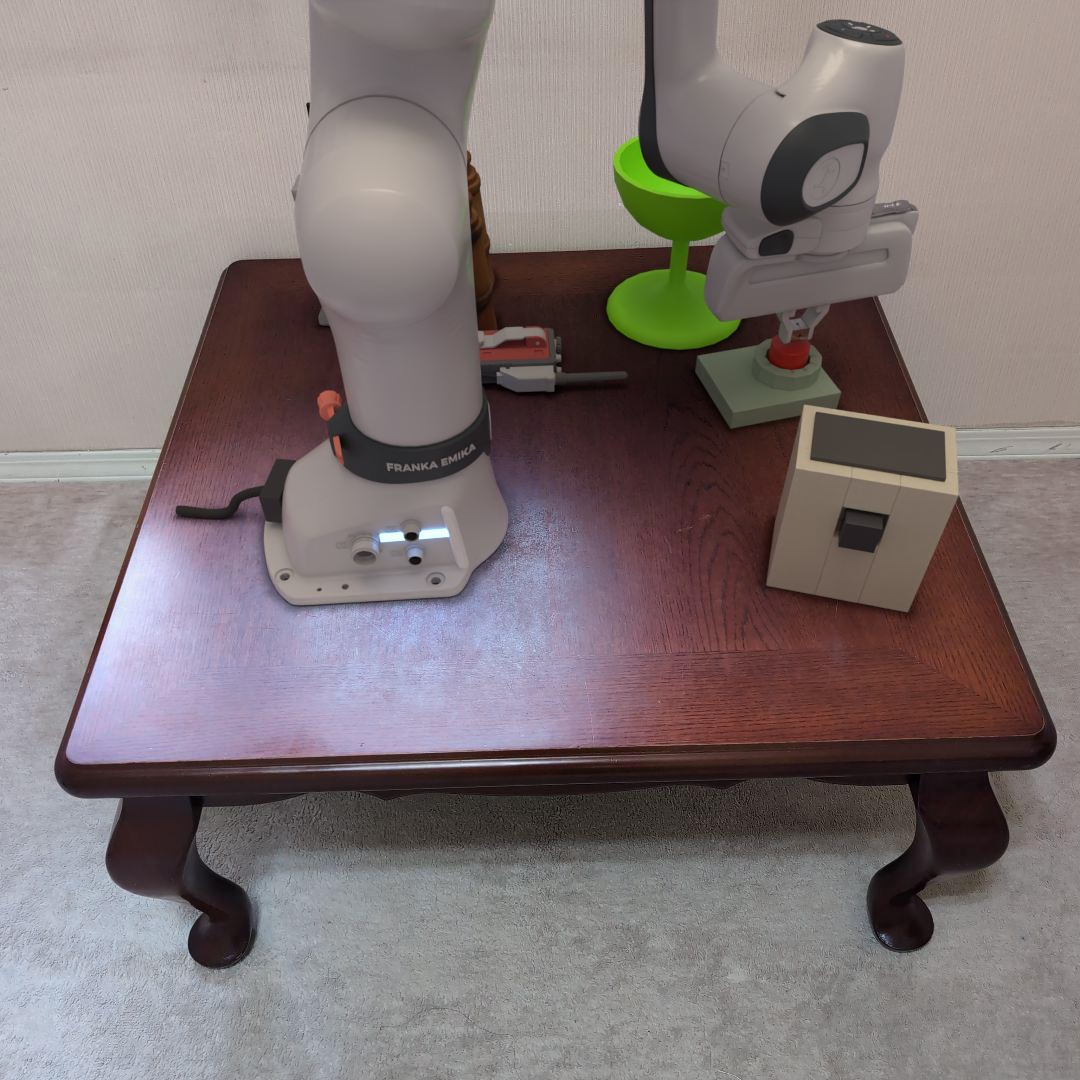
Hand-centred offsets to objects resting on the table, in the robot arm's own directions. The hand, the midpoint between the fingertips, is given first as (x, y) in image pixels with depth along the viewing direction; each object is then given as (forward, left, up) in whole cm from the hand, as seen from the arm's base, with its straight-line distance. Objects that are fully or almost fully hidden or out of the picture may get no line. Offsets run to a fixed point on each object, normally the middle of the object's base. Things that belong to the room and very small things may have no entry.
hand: (794, 338), depth 97 cm
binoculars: (-30, +25, -7) cm, 40 cm away
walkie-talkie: (-25, +10, -7) cm, 28 cm away
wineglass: (-6, +17, -7) cm, 19 cm away
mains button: (0, 0, -3) cm, 3 cm away
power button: (-8, -28, +1) cm, 30 cm away
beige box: (-6, -25, -6) cm, 26 cm away
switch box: (-2, 0, -6) cm, 7 cm away
